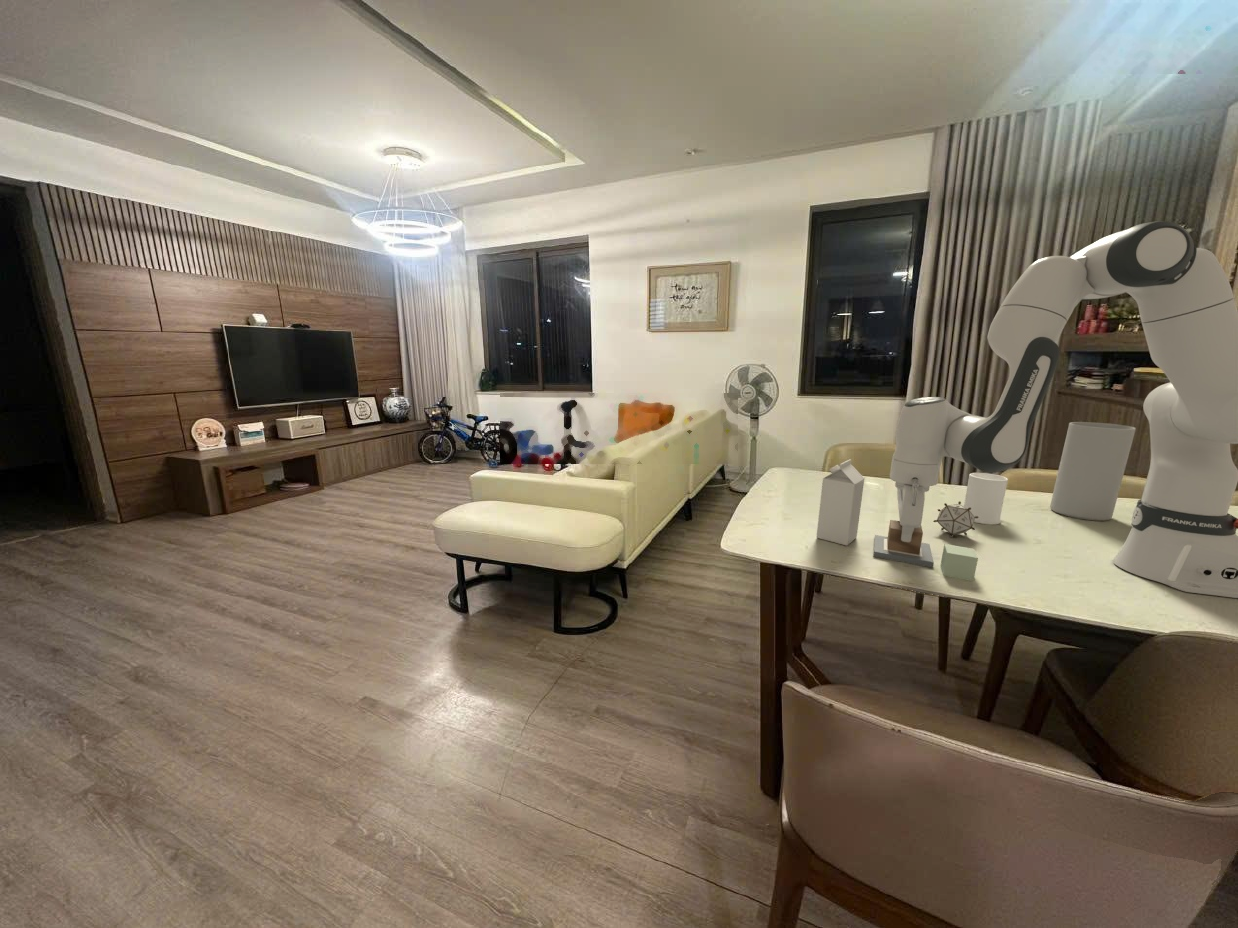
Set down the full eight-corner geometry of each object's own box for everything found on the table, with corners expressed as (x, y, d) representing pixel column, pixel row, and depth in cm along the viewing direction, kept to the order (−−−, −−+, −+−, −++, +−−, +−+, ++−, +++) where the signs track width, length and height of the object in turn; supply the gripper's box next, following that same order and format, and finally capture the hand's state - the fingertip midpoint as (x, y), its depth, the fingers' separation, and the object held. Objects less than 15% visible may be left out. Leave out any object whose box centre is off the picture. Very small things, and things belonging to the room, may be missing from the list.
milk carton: (856, 537, 113) (866, 461, 108) (847, 546, 108) (857, 466, 103) (826, 530, 117) (835, 457, 113) (816, 538, 112) (824, 461, 108)
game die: (959, 550, 115) (992, 529, 107) (926, 536, 116) (955, 514, 108) (955, 523, 121) (985, 501, 113) (923, 510, 121) (951, 487, 114)
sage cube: (969, 571, 96) (973, 548, 95) (973, 581, 92) (978, 558, 90) (940, 566, 98) (944, 544, 97) (942, 575, 94) (947, 552, 93)
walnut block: (917, 545, 105) (921, 524, 104) (919, 555, 100) (922, 533, 99) (887, 540, 108) (890, 519, 107) (887, 549, 103) (890, 528, 102)
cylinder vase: (1038, 505, 137) (1057, 421, 131) (1086, 507, 136) (1107, 422, 130) (1072, 520, 125) (1094, 428, 119) (1125, 523, 124) (1150, 429, 118)
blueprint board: (928, 548, 107) (929, 543, 106) (932, 567, 97) (933, 561, 97) (874, 539, 112) (874, 534, 111) (873, 556, 102) (874, 551, 102)
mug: (985, 511, 132) (993, 470, 129) (1017, 522, 124) (1027, 478, 121) (952, 515, 129) (960, 473, 126) (983, 526, 121) (992, 481, 118)
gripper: (936, 487, 90) (924, 553, 93) (927, 465, 107) (918, 522, 110) (898, 482, 93) (888, 547, 96) (896, 462, 110) (888, 517, 113)
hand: (904, 533), depth 103 cm, fingers open, 8 cm apart
